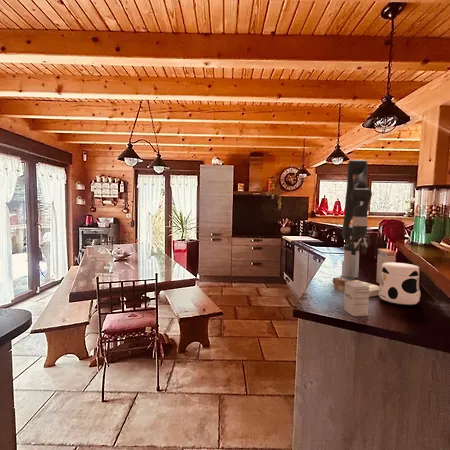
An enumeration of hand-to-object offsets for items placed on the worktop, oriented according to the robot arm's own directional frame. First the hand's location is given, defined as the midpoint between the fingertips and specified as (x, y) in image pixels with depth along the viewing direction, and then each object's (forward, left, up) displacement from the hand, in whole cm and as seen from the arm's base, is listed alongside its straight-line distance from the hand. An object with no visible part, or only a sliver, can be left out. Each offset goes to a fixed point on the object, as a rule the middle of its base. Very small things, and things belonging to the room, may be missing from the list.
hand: (358, 254), depth 165 cm
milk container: (+25, -1, -20) cm, 32 cm away
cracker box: (+1, +22, -20) cm, 29 cm away
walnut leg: (+3, -11, -16) cm, 20 cm away
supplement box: (+27, -32, -20) cm, 46 cm away
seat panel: (+3, -2, -19) cm, 20 cm away
